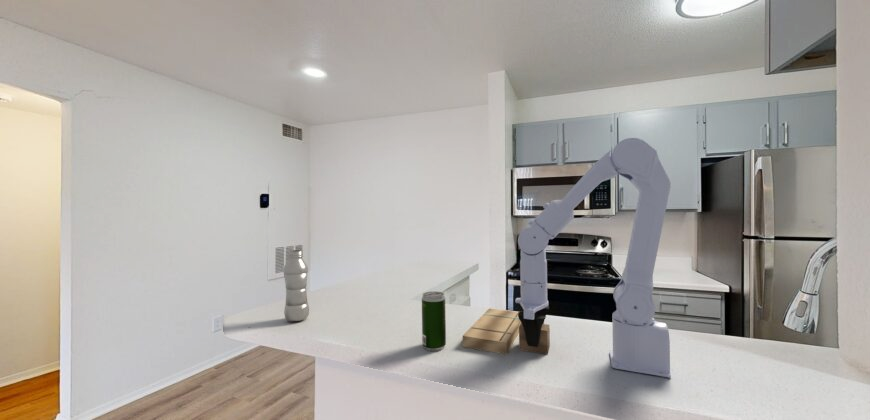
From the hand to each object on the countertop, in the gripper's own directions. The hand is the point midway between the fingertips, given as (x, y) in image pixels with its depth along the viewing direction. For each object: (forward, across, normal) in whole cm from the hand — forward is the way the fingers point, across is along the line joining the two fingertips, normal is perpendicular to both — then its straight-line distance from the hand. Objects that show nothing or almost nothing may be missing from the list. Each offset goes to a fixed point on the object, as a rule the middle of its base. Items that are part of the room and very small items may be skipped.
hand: (534, 341), depth 74 cm
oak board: (+1, -6, -10) cm, 11 cm away
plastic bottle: (+2, +7, -65) cm, 65 cm away
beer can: (+2, +8, -21) cm, 23 cm away
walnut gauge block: (+1, 0, 0) cm, 1 cm away
